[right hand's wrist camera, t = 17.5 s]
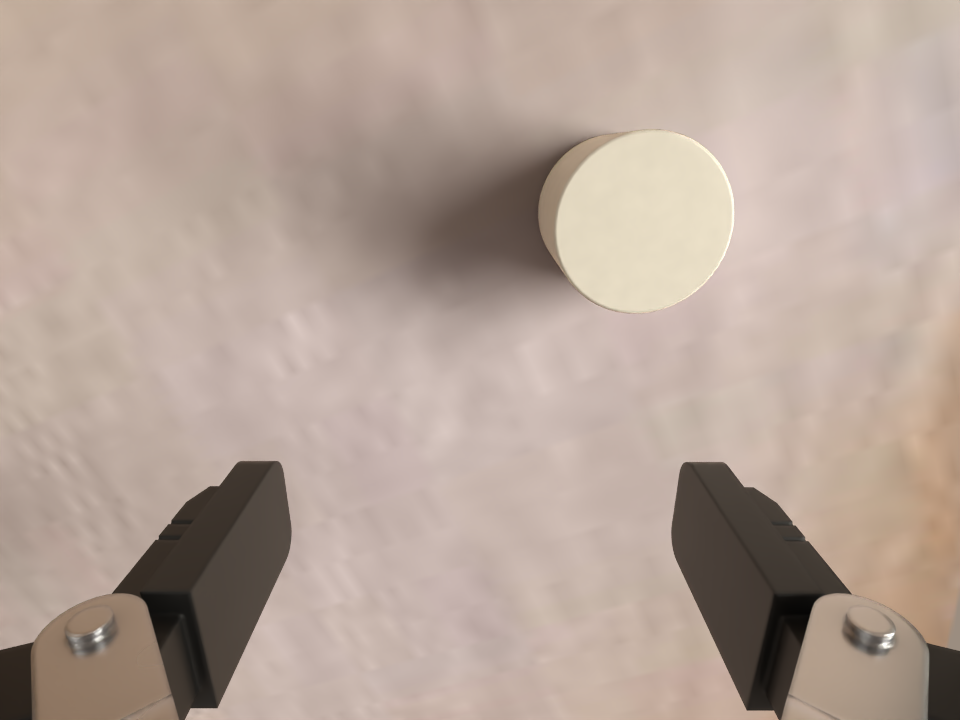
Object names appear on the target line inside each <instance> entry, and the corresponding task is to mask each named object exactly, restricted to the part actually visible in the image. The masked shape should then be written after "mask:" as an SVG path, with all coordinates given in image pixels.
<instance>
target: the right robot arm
mask: <svg viewBox="0 0 960 720" xmlns="http://www.w3.org/2000/svg"><path fill="white" fill-rule="evenodd" d="M671 535H672V546H673V551H674V555H675V558H676V560H677V563H678V565H679V567H680V569H681V571H682V573H683V575H684V577H685V580H686V582H687V584H688V586H689V588H690V590H691V592H692V595H693V597H694V599H695V601H696V603H697V605H698V607H699V609H700V612H701V614H702V616H703V618H704V620H705V622H706V624H707V626H708V629H709V631H710V633H711V635H712V637H713V639H714V641H715V643H716V646H717V648H718V650H719V652H720V654H721V656H722V658H723V661H724V663H725V665H726V667H727V669H728V671H729V673H730V675H731V678H732V680H733V682H734V684H735V686H736V688H737V690H738V692H739V695H740V697H741V699H742V701H743V703H744V705H745V707H746V710H774V711H775V713H776V715H777V717H778V719H779V720H960V651H957V650H953V649H949V648H944V647H940V646H936V645H932V644H929V643H926V641H925V640H924V638H923V637H922V635H921V634H920V633H919V631H918V630H917V629H916V628H915V627H914V626H913V625H912V624H911V623H910V622H909V621H907V620H906V619H905V618H904V617H902V616H901V615H899V614H898V613H896V612H895V611H893V610H892V609H890V608H888V607H886V606H884V605H882V604H880V603H878V602H875V601H873V600H870V599H867V598H864V597H861V596H857V595H852V594H851V593H850V591H849V590H848V589H847V588H846V586H845V585H844V584H843V583H842V582H841V580H840V579H839V578H838V577H837V576H836V574H835V573H834V572H833V571H832V569H831V568H830V567H829V566H828V565H827V563H826V562H825V561H824V560H823V559H822V557H821V556H820V555H819V554H818V552H817V551H816V550H815V549H814V548H813V546H812V545H811V544H810V543H809V541H805V537H804V535H803V534H802V533H801V532H800V531H799V529H798V528H797V527H796V526H793V524H792V521H791V520H790V518H789V517H788V516H787V515H786V513H785V512H784V511H783V510H782V509H781V507H780V506H779V505H778V504H777V503H776V502H774V501H773V500H771V499H770V498H768V497H767V496H765V495H764V494H762V493H761V492H759V491H758V490H756V489H755V488H753V487H744V486H743V485H742V484H741V483H740V481H739V480H738V479H737V477H736V476H735V475H734V473H733V472H732V471H731V469H730V468H729V467H728V466H727V465H726V464H725V463H723V462H685V463H684V464H683V465H682V467H681V469H680V474H679V480H678V487H677V494H676V501H675V508H674V515H673V521H672V531H671ZM290 544H291V521H290V514H289V507H288V500H287V493H286V486H285V479H284V473H283V468H282V466H281V464H280V462H278V461H240V462H238V463H237V464H236V465H235V466H234V468H233V469H232V470H231V472H230V473H229V474H228V476H227V477H226V478H225V480H224V481H223V482H222V483H221V485H220V486H210V487H208V488H207V489H205V490H204V491H202V492H201V493H199V494H198V495H196V496H195V497H193V498H192V499H190V500H189V501H187V502H186V503H185V505H184V506H183V507H182V508H181V509H180V511H179V512H178V513H177V514H176V516H175V517H174V518H173V519H172V523H171V524H168V525H167V527H166V528H165V529H164V530H163V532H162V533H161V534H160V535H159V540H155V541H154V543H153V544H152V545H151V546H150V548H149V549H148V550H147V551H146V552H145V554H144V555H143V556H142V557H141V559H140V560H139V561H138V562H137V564H136V565H135V566H134V567H133V568H132V570H131V571H130V572H129V573H128V575H127V576H126V577H125V578H124V579H123V581H122V582H121V583H120V584H119V586H118V587H117V588H116V589H115V591H114V592H113V593H112V594H108V595H103V596H99V597H96V598H93V599H90V600H87V601H85V602H82V603H80V604H78V605H76V606H74V607H72V608H70V609H68V610H67V611H65V612H64V613H62V614H61V615H59V616H58V617H56V618H55V619H54V620H53V621H51V622H50V623H49V624H48V625H47V626H46V627H45V628H44V629H43V630H42V631H41V633H40V634H39V635H38V637H37V638H36V640H35V641H34V642H33V643H29V644H24V645H20V646H16V647H12V648H7V649H3V650H0V720H185V718H186V716H187V714H188V712H189V710H190V708H218V706H219V704H220V701H221V699H222V697H223V695H224V693H225V691H226V688H227V686H228V684H229V682H230V680H231V678H232V676H233V673H234V671H235V669H236V667H237V665H238V663H239V660H240V658H241V656H242V654H243V652H244V650H245V647H246V645H247V643H248V641H249V639H250V637H251V635H252V632H253V630H254V628H255V626H256V624H257V622H258V619H259V617H260V615H261V613H262V611H263V609H264V607H265V604H266V602H267V600H268V598H269V596H270V594H271V591H272V589H273V587H274V585H275V583H276V581H277V578H278V576H279V574H280V572H281V570H282V568H283V566H284V563H285V561H286V559H287V556H288V553H289V549H290Z"/></svg>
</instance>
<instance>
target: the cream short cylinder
mask: <svg viewBox="0 0 960 720" xmlns="http://www.w3.org/2000/svg"><path fill="white" fill-rule="evenodd" d="M538 220H539V228H540V232H541V236H542V238H543V241H544V243H545V245H546V247H547V249H548V251H549V252H550V254H551V255H552V257H553V258H554V260H555V261H556V263H557V264H558V266H559V267H560V269H561V270H562V272H563V273H564V275H565V276H566V277H567V279H568V280H569V282H570V283H571V284H572V286H573V287H574V288H575V289H576V290H577V291H578V292H579V293H580V294H582V295H583V296H584V297H585V298H587V299H588V300H590V301H591V302H593V303H595V304H596V305H599V306H601V307H603V308H606V309H609V310H612V311H616V312H622V313H648V312H653V311H658V310H662V309H664V308H667V307H670V306H672V305H674V304H676V303H678V302H680V301H682V300H684V299H685V298H687V297H688V296H690V295H691V294H693V293H694V292H695V291H697V290H698V289H699V288H700V287H701V286H702V285H703V284H704V283H705V282H706V281H707V280H708V279H709V278H710V277H711V276H712V274H713V273H714V271H715V270H716V269H717V267H718V266H719V264H720V262H721V261H722V259H723V257H724V255H725V253H726V250H727V248H728V245H729V242H730V239H731V235H732V231H733V224H734V201H733V195H732V191H731V186H730V183H729V181H728V178H727V176H726V174H725V172H724V170H723V169H722V167H721V165H720V163H719V162H718V161H717V160H716V159H715V157H714V156H713V155H712V154H711V153H710V152H709V151H708V150H707V149H706V148H705V147H704V146H702V145H701V144H699V143H698V142H696V141H695V140H693V139H691V138H689V137H687V136H685V135H682V134H679V133H676V132H672V131H667V130H660V129H645V130H638V131H630V132H623V133H616V134H608V135H601V136H597V137H594V138H591V139H588V140H586V141H584V142H582V143H580V144H578V145H577V146H575V147H573V148H572V149H571V150H569V151H568V152H567V153H566V154H565V155H564V156H563V157H562V158H561V159H560V160H559V161H558V162H557V163H556V164H555V166H554V167H553V168H552V170H551V171H550V173H549V175H548V176H547V178H546V181H545V183H544V185H543V188H542V191H541V195H540V199H539V206H538Z"/></svg>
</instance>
